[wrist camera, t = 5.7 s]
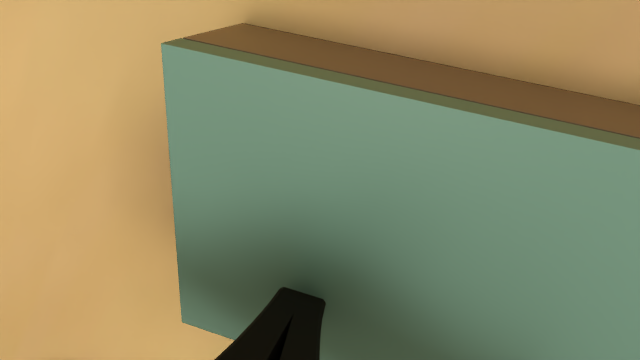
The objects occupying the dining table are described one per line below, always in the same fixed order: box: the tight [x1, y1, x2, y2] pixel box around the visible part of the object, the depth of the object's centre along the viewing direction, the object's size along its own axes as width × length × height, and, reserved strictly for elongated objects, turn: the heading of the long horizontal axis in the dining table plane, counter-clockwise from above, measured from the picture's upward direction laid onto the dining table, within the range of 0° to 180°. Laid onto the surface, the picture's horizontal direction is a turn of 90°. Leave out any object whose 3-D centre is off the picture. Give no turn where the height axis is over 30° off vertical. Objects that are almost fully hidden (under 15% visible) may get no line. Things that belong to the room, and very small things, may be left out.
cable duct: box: [183, 23, 640, 139], centre depth 12 cm, size 16×10×4 cm, turn 81°
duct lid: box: [161, 38, 640, 360], centre depth 10 cm, size 16×10×1 cm, turn 81°
